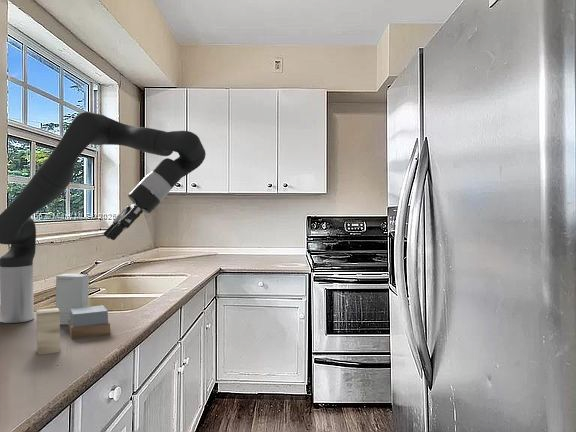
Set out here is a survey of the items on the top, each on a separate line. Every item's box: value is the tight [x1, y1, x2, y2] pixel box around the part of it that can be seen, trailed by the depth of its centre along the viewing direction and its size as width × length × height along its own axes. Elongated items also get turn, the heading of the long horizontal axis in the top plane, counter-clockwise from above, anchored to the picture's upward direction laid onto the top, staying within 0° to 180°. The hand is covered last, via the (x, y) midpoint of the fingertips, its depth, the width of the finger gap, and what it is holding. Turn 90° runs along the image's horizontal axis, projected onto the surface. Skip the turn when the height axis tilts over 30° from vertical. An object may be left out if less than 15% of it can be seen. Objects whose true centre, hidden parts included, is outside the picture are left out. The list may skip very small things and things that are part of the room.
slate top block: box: [70, 304, 109, 327], centre depth 145 cm, size 9×9×4 cm
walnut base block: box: [67, 320, 111, 340], centre depth 145 cm, size 10×10×4 cm
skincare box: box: [54, 273, 90, 326], centre depth 156 cm, size 8×6×15 cm
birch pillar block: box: [36, 307, 61, 356], centre depth 127 cm, size 5×5×10 cm
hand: (107, 237), depth 133 cm, fingers open, 8 cm apart
